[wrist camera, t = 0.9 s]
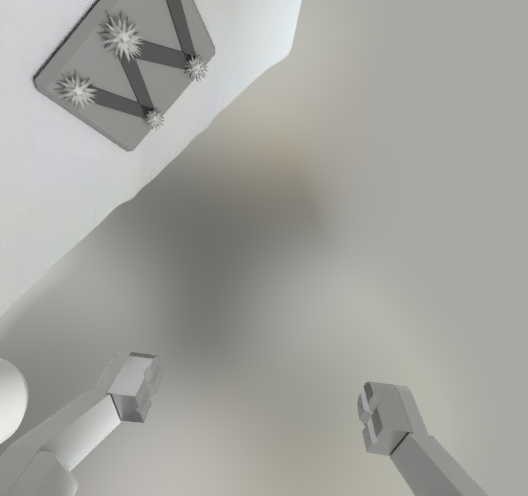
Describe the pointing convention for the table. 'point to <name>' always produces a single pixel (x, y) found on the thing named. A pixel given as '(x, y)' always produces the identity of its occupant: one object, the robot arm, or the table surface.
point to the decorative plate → (128, 65)
